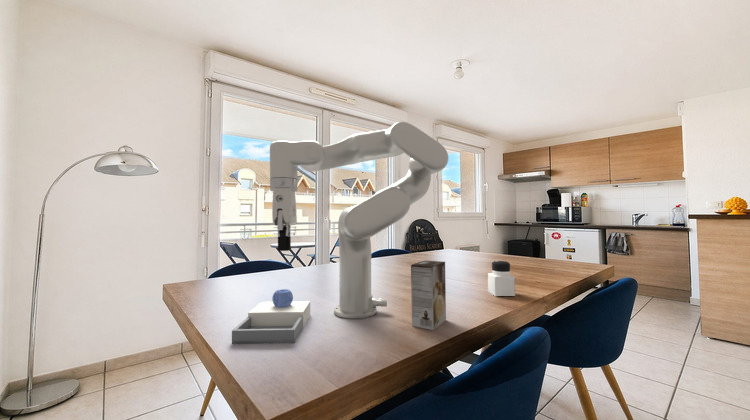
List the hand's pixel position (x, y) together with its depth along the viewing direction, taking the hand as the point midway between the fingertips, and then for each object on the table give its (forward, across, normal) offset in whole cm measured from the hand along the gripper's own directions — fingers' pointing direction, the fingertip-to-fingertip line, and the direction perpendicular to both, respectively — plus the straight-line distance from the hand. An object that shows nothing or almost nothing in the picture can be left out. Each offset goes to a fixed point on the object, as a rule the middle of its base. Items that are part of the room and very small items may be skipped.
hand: (284, 250), depth 86 cm
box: (+19, -12, +1) cm, 23 cm away
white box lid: (+19, -3, 0) cm, 19 cm away
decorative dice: (+15, -2, 0) cm, 15 cm away
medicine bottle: (+20, +19, -73) cm, 78 cm away
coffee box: (+20, -7, -40) cm, 45 cm away
